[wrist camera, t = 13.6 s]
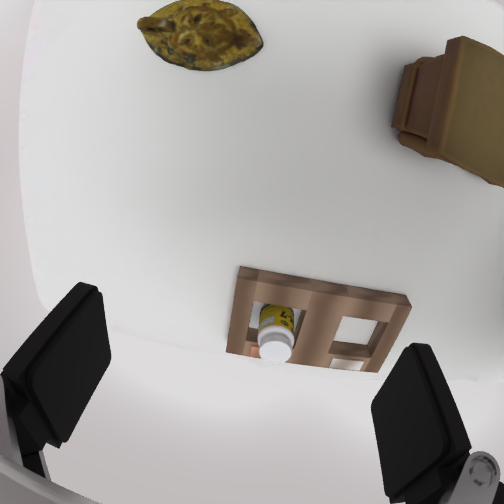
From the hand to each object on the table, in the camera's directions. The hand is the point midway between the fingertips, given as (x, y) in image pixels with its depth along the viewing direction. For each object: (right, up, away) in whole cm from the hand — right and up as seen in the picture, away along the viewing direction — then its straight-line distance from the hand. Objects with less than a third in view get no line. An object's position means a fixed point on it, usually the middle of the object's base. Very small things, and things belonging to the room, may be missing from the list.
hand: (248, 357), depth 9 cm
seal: (-6, +28, +21) cm, 36 cm away
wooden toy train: (+25, +19, +22) cm, 39 cm away
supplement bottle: (+4, -5, +36) cm, 37 cm away
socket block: (+9, -7, +36) cm, 38 cm away
